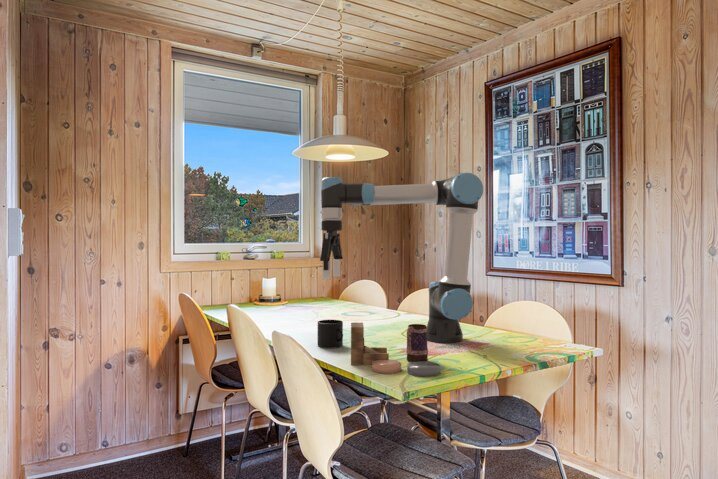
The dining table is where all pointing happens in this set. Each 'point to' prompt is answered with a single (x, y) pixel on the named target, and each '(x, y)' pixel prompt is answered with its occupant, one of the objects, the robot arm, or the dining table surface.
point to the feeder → (364, 348)
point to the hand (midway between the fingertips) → (331, 278)
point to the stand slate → (423, 369)
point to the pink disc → (386, 366)
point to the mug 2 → (417, 343)
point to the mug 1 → (330, 333)
